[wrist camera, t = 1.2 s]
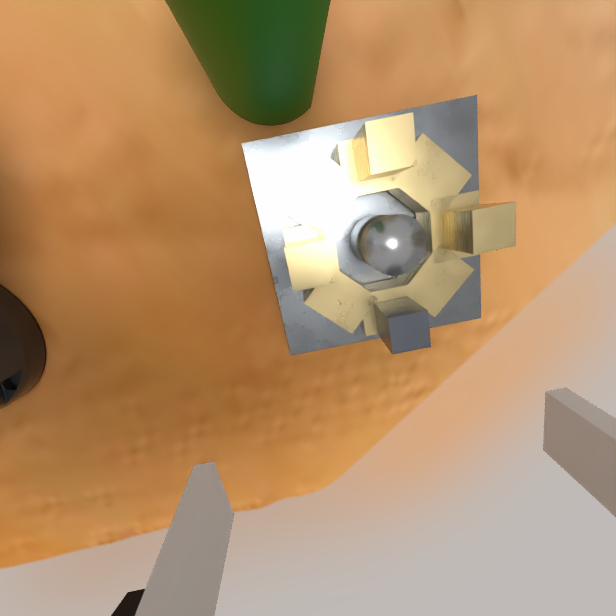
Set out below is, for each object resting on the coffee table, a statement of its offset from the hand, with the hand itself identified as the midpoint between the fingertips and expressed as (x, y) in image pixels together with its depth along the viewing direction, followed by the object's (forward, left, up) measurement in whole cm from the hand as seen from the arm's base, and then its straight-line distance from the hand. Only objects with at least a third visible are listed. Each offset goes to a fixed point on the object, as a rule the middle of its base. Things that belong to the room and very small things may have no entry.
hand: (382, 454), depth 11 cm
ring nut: (+5, +6, -19) cm, 20 cm away
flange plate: (+5, +6, -20) cm, 22 cm away
